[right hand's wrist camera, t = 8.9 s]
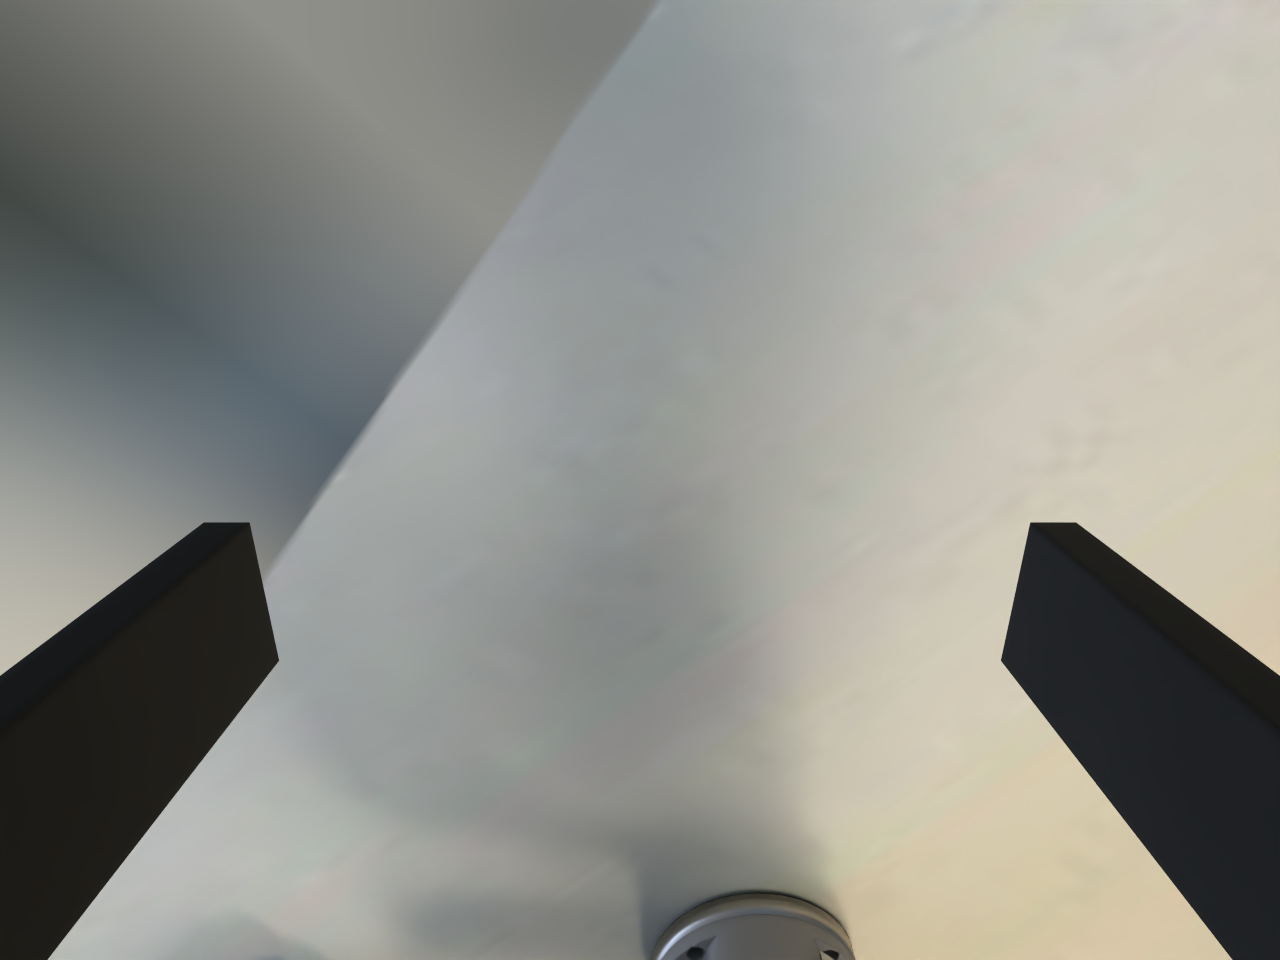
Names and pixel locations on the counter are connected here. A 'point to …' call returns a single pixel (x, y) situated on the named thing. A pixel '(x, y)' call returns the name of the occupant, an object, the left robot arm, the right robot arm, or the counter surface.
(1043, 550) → the right robot arm
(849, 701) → the counter surface
